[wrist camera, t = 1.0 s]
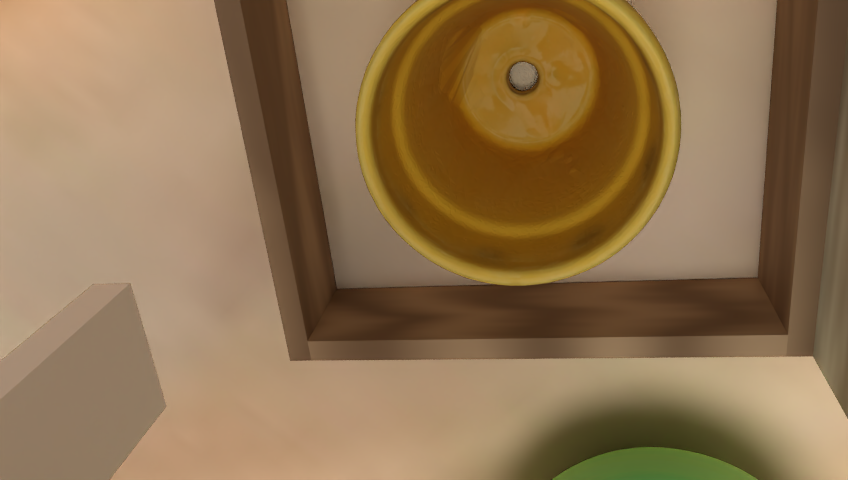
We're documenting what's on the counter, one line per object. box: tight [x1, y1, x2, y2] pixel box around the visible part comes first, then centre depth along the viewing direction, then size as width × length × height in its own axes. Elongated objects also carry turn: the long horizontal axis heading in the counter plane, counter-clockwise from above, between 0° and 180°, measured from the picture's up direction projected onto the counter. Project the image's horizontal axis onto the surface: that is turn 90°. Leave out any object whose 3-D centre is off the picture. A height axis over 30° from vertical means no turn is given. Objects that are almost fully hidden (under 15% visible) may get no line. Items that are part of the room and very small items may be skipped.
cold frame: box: [214, 0, 848, 418], centre depth 23 cm, size 23×22×20 cm
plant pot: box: [355, 0, 681, 286], centre depth 28 cm, size 10×10×10 cm
